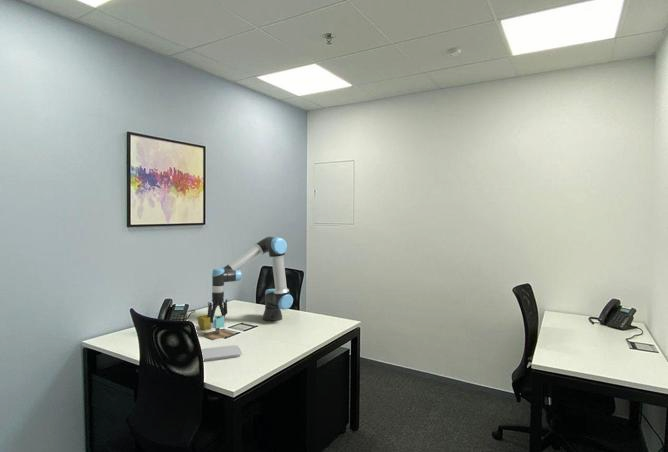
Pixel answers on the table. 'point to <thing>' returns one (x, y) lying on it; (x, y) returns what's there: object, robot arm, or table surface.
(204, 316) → the flower pot
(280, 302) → the robot arm
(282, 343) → the table surface
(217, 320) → the light blue cube
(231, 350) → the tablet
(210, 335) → the post stand
